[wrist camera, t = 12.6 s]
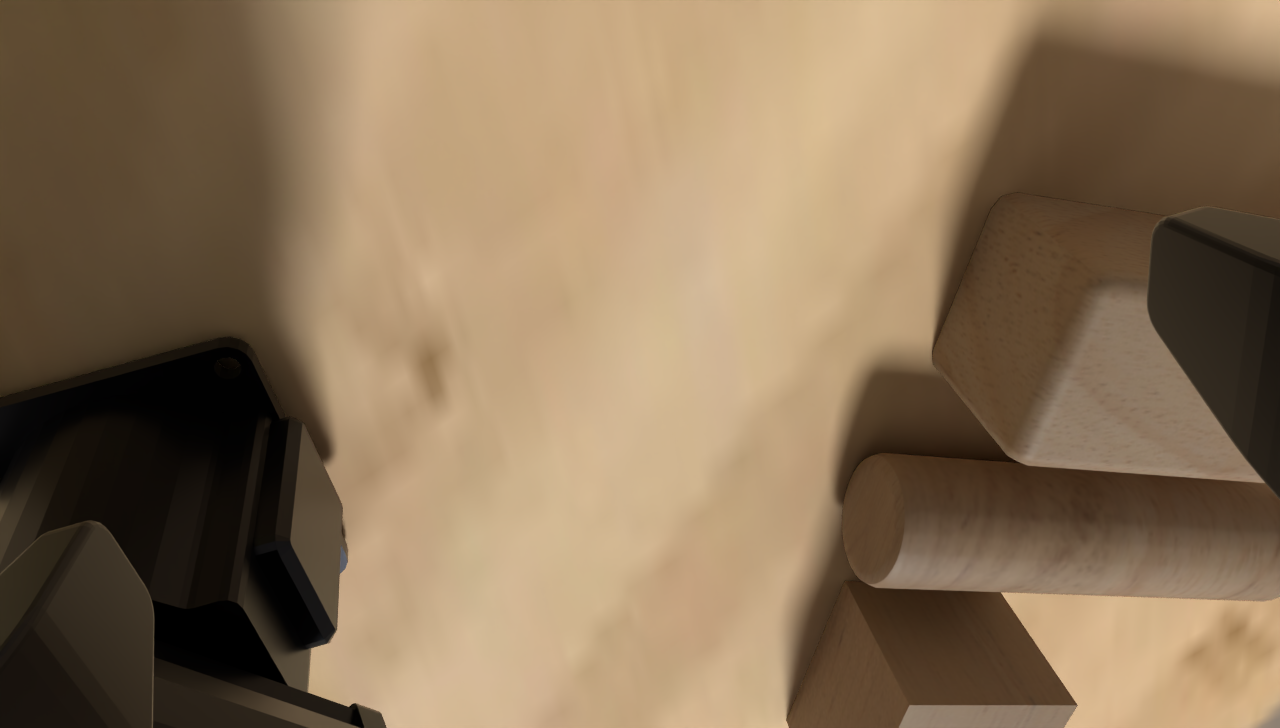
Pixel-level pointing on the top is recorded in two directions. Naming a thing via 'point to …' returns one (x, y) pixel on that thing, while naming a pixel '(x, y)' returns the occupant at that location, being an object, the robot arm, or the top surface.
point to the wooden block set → (1036, 487)
